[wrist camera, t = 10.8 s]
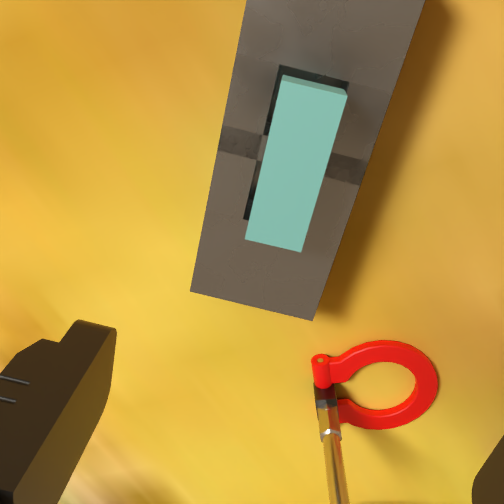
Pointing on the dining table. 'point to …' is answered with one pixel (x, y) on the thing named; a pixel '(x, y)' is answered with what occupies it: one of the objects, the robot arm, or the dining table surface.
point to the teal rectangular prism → (294, 162)
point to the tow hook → (348, 412)
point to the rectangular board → (258, 127)
